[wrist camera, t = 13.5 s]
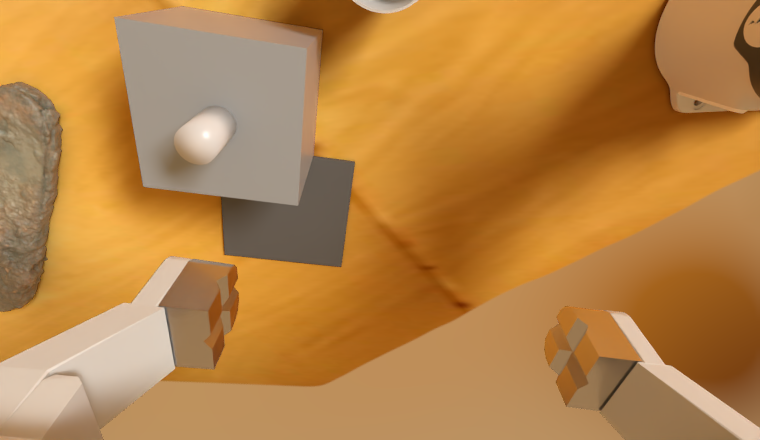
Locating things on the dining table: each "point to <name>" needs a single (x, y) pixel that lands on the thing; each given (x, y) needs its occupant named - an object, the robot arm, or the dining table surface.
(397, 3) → the cup
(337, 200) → the mat
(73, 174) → the dining table surface
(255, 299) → the dining table surface
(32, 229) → the elongated rock
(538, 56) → the dining table surface
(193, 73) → the cover
